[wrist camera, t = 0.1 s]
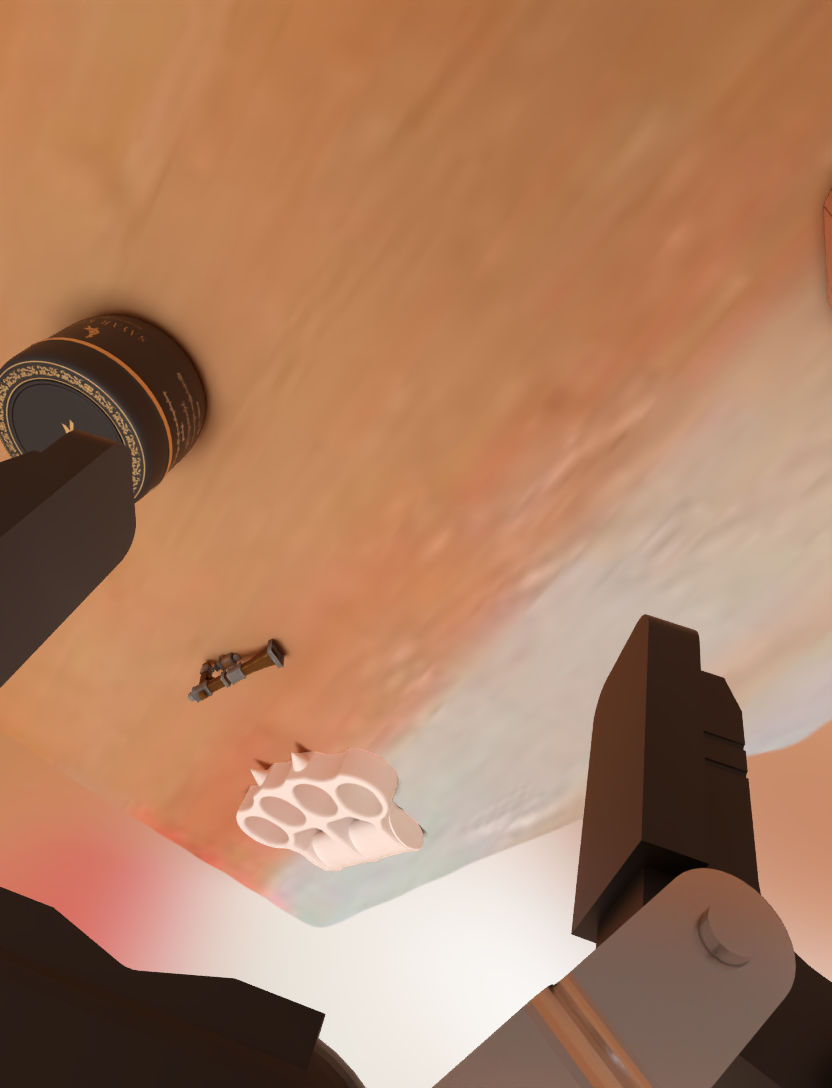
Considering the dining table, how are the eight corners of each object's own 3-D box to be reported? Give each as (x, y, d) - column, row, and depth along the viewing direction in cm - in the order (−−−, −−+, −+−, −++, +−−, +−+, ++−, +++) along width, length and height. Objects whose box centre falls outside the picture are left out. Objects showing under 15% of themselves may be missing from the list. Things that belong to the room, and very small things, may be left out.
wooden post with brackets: (189, 663, 61) (180, 697, 57) (274, 620, 60) (270, 652, 56) (202, 678, 62) (193, 713, 58) (285, 636, 61) (283, 668, 57)
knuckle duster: (322, 856, 76) (219, 769, 71) (454, 820, 66) (345, 716, 62) (310, 887, 73) (202, 799, 69) (445, 854, 64) (331, 748, 59)
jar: (203, 314, 43) (128, 366, 37) (226, 464, 49) (165, 529, 43) (52, 296, 45) (-42, 343, 39) (92, 442, 51) (17, 502, 45)
